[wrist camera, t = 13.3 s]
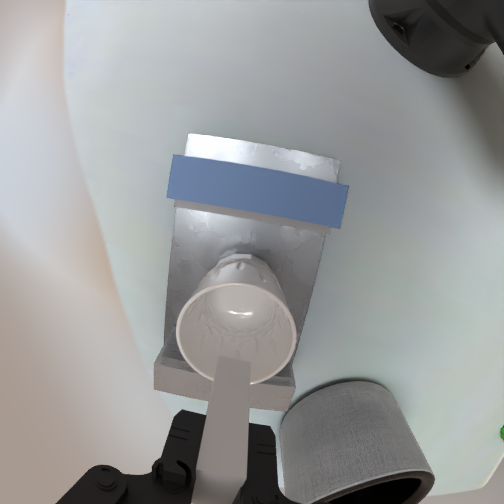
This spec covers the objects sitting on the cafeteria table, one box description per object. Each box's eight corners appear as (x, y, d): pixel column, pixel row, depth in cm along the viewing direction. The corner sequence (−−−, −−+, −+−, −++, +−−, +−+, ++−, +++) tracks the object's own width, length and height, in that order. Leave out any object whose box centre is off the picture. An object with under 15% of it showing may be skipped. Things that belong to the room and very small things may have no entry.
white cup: (211, 237, 27) (187, 267, 17) (293, 259, 28) (313, 300, 18) (194, 312, 29) (168, 369, 19) (269, 331, 29) (275, 395, 20)
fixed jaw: (174, 321, 29) (154, 357, 22) (289, 340, 30) (297, 382, 23) (172, 349, 30) (153, 389, 23) (281, 368, 30) (287, 411, 24)
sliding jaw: (194, 160, 25) (173, 154, 19) (325, 184, 26) (348, 185, 19) (187, 199, 26) (165, 206, 20) (317, 222, 27) (338, 236, 20)
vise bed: (190, 135, 26) (188, 133, 25) (337, 161, 26) (340, 160, 25) (166, 342, 31) (163, 347, 30) (289, 363, 31) (290, 368, 30)
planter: (379, 444, 36) (408, 519, 20) (278, 459, 36) (283, 545, 21) (403, 366, 32) (460, 450, 17) (278, 382, 32) (289, 493, 17)
